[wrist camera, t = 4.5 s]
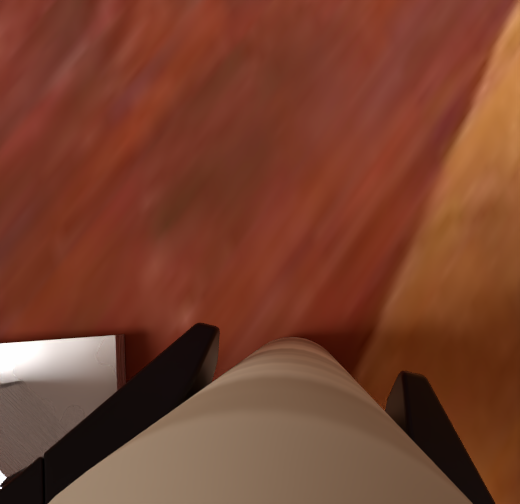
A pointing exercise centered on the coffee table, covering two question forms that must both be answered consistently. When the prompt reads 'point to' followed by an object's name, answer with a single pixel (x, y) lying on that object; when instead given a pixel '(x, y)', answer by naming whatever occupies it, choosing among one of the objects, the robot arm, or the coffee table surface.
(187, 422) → the wooden post
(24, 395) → the cup bracket
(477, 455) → the coffee table surface
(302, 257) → the coffee table surface
